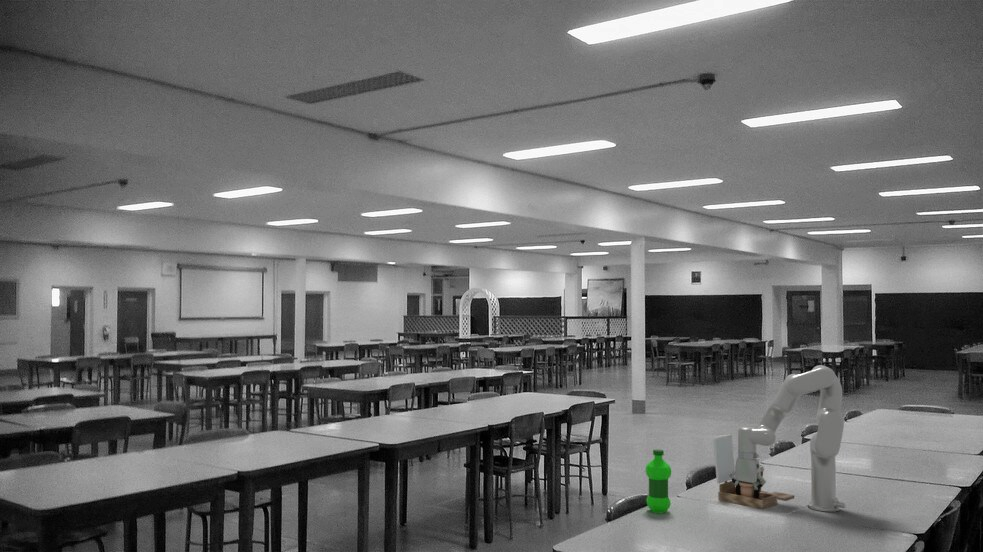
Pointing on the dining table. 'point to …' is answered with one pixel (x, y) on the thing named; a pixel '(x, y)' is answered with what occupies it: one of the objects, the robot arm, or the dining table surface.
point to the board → (783, 496)
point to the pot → (747, 489)
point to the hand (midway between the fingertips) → (747, 496)
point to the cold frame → (729, 495)
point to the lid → (723, 457)
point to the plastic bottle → (658, 483)
